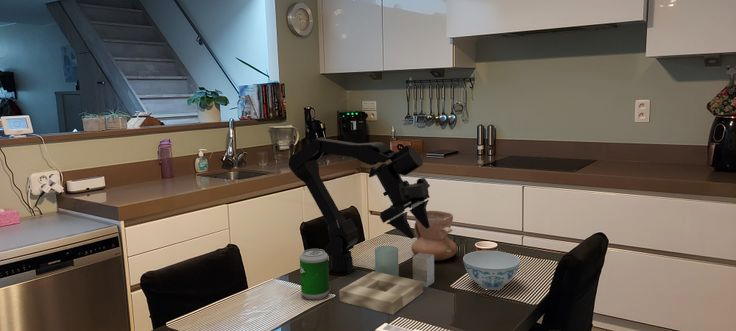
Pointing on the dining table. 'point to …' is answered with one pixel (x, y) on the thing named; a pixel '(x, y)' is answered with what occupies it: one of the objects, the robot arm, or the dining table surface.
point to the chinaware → (491, 268)
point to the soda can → (314, 274)
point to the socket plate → (381, 292)
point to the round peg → (387, 260)
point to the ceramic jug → (435, 236)
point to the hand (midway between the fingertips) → (420, 233)
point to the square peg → (423, 268)
